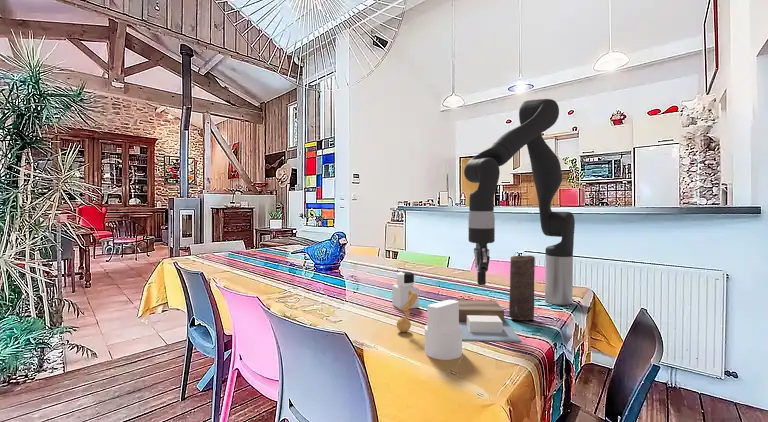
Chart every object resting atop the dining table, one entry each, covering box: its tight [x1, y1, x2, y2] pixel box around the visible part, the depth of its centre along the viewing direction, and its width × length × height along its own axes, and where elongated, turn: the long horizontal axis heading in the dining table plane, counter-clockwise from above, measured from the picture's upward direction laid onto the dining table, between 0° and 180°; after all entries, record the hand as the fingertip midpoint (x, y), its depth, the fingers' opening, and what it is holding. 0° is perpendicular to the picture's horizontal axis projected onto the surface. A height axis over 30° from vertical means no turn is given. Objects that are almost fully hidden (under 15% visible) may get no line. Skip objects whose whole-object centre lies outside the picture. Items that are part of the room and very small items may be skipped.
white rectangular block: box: [467, 315, 503, 333], centre depth 113 cm, size 6×9×3 cm, turn 86°
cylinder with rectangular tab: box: [424, 299, 463, 361], centre depth 96 cm, size 9×9×12 cm
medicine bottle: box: [391, 271, 420, 311], centre depth 139 cm, size 7×7×12 cm
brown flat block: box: [454, 299, 505, 323], centre depth 125 cm, size 12×14×4 cm
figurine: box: [396, 290, 417, 333], centre depth 111 cm, size 8×6×12 cm
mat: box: [459, 322, 522, 343], centre depth 111 cm, size 15×16×1 cm
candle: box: [508, 255, 536, 321], centre depth 122 cm, size 8×7×20 cm
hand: (481, 284), depth 117 cm, fingers closed
